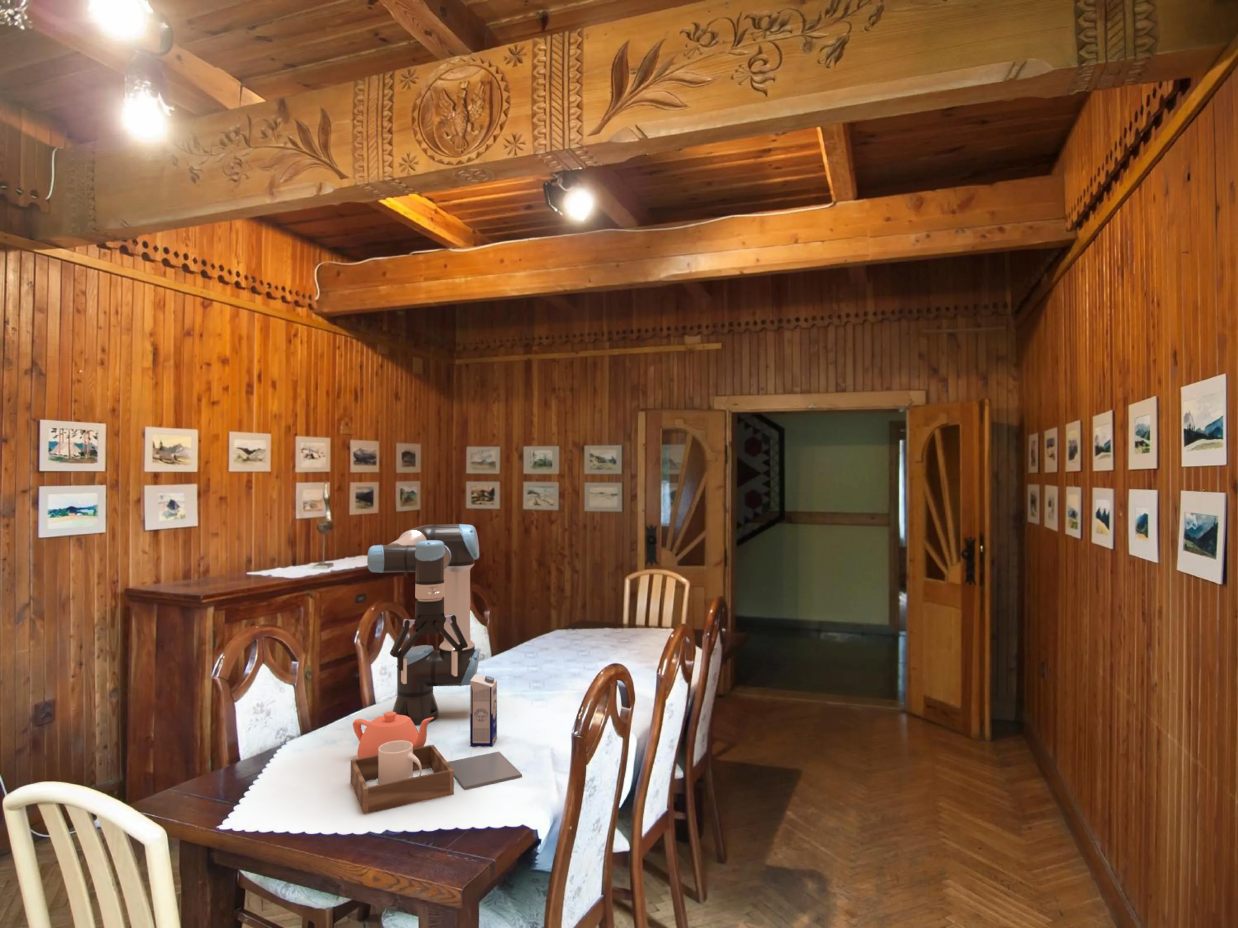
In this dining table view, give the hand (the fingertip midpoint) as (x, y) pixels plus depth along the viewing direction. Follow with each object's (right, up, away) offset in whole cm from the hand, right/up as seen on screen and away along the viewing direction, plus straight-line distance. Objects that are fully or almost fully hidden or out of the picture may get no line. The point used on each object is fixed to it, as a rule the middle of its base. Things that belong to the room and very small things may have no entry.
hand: (429, 678), depth 191 cm
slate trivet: (+13, -27, +6) cm, 31 cm away
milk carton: (+9, -28, +27) cm, 40 cm away
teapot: (-14, -28, +14) cm, 34 cm away
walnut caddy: (-6, -27, -4) cm, 28 cm away
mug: (-6, -28, -4) cm, 28 cm away
